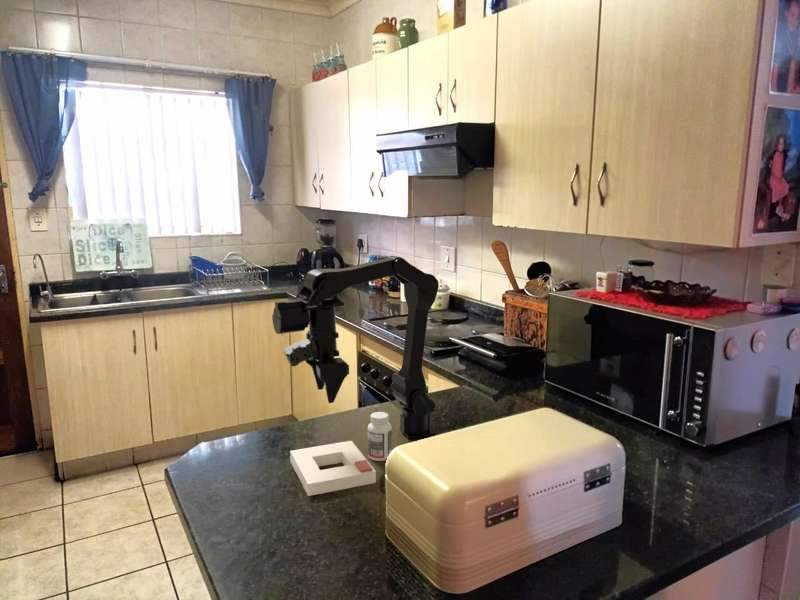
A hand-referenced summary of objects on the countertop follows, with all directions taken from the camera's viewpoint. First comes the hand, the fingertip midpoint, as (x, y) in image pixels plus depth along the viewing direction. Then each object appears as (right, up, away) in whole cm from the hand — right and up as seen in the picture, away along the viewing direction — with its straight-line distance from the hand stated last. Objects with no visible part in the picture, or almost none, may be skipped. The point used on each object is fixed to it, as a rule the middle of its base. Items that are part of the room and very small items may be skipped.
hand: (325, 395), depth 129 cm
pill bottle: (+12, -14, +1) cm, 18 cm away
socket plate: (+2, -15, -7) cm, 17 cm away
